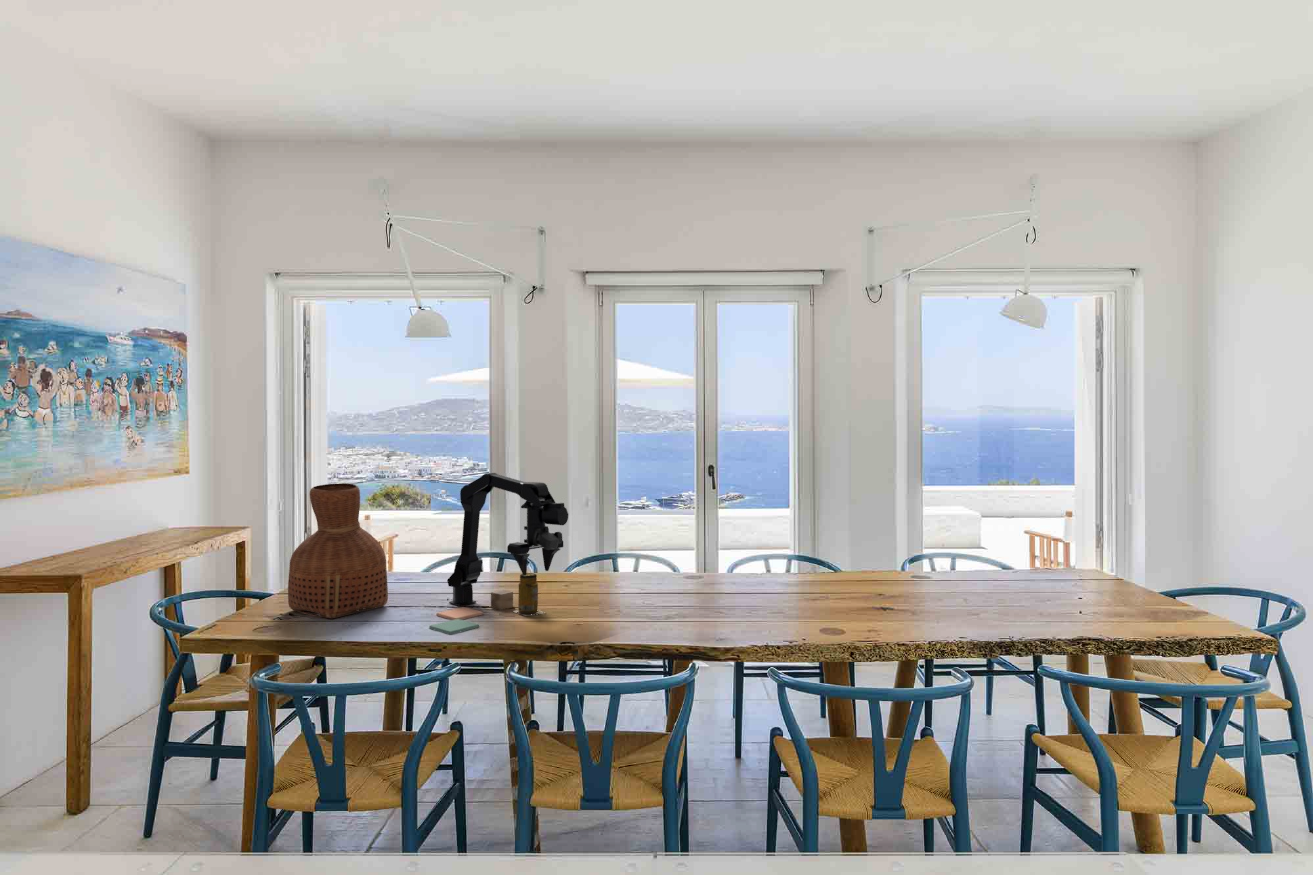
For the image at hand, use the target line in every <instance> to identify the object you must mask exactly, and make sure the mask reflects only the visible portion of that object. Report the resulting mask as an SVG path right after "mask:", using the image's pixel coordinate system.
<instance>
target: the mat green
mask: <svg viewBox="0 0 1313 875" xmlns="http://www.w3.org/2000/svg"><path fill="white" fill-rule="evenodd" d="M478 628H480V624H479V623H476V622H471V621H468V620H465V619H462V620H461V619H455V620H451V619H450V620H447V621H444V622H439V623H434V624H429V629H431V630H434V629H435V630H434V631H437V632H440V631H441V633H445V634H447V633H448V635H453V633H454V634H457V633H461V632H460V631H462V632H465V631H468V629H470V630H472V629H473V630H474V629H478Z"/></svg>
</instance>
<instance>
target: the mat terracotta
mask: <svg viewBox="0 0 1313 875" xmlns="http://www.w3.org/2000/svg"><path fill="white" fill-rule="evenodd" d="M435 614H436V616H437V617H440V618H443V619H444V618H445V619H448V620H450V621H451V620H455V619H461V620H465V619H469V618H470V619H471V618H475V617H479V616H482V615H483V616H484V612H483V611H480V610H476V609H473V608H469V607H464V606H460V607H458V608H453V609H452V608H451V609H447V610H444V611H439V612H436V613H435Z"/></svg>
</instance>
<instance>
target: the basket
mask: <svg viewBox="0 0 1313 875" xmlns="http://www.w3.org/2000/svg"><path fill="white" fill-rule="evenodd" d="M360 490H361V489H360V488H359V486H358V485H356V484H353V483H345V482H344V483H343V482H342V483H341V482H340V483H328V484H327V483H326V484H320V485H316V486H313V487H312V488H310V490H309V499H310V500H309V501H310V504H311V508H312V512H313V513H314V515H315V516H314V517H315V520H316V524H317V531H315V532H314V533H312V534H311V535H310V536H308V537H306V539H305V540H303V541H302V542H301V543H300V544H299V545H298V546H297V547H296V548H295V550H294V551H293V553H292V555H291V556H290V560H289V564H288V565H289V570H288V580H287V599H288V600H287V602H288V607H289V608H290V609H291V610H292V611H293V612H297V613H301V614H303V615H308V616H313V617H319V618H324V619H325V618H327V619H335V618H340V617H345V616H348V615H353V614H357V613H362V612H364V611H369V610H372V609H377V608H382V607H384V606H385V605H386V604H388V601H389V600H388V599H389V597H388V596H389V594H388V592H389V589H388V570H387V558H386V553H385V549H384V548H383V546H382V544H381V543H380V542H379V541H378V540H377V539H376V538H375V537H374V536H373V535H372V534H371V533H369V532H368V531H367V530H365V529H363V528H362V527H361V525H360V524H361V523H360V521H359V517H360V516H359V515H360V510H361V509H360V508H361V491H360ZM310 612H311V613H310Z"/></svg>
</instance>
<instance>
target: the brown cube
mask: <svg viewBox="0 0 1313 875" xmlns="http://www.w3.org/2000/svg"><path fill="white" fill-rule="evenodd" d="M513 607H514V592H513V591H512V590H511V591H510V590H507V589H506V590H505V589H500V590H496V591H491V592H490V608H492V609H495V608H496V609H495V610H500V611H502V610H506V609H505V608H507V609H511V608H513Z"/></svg>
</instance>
